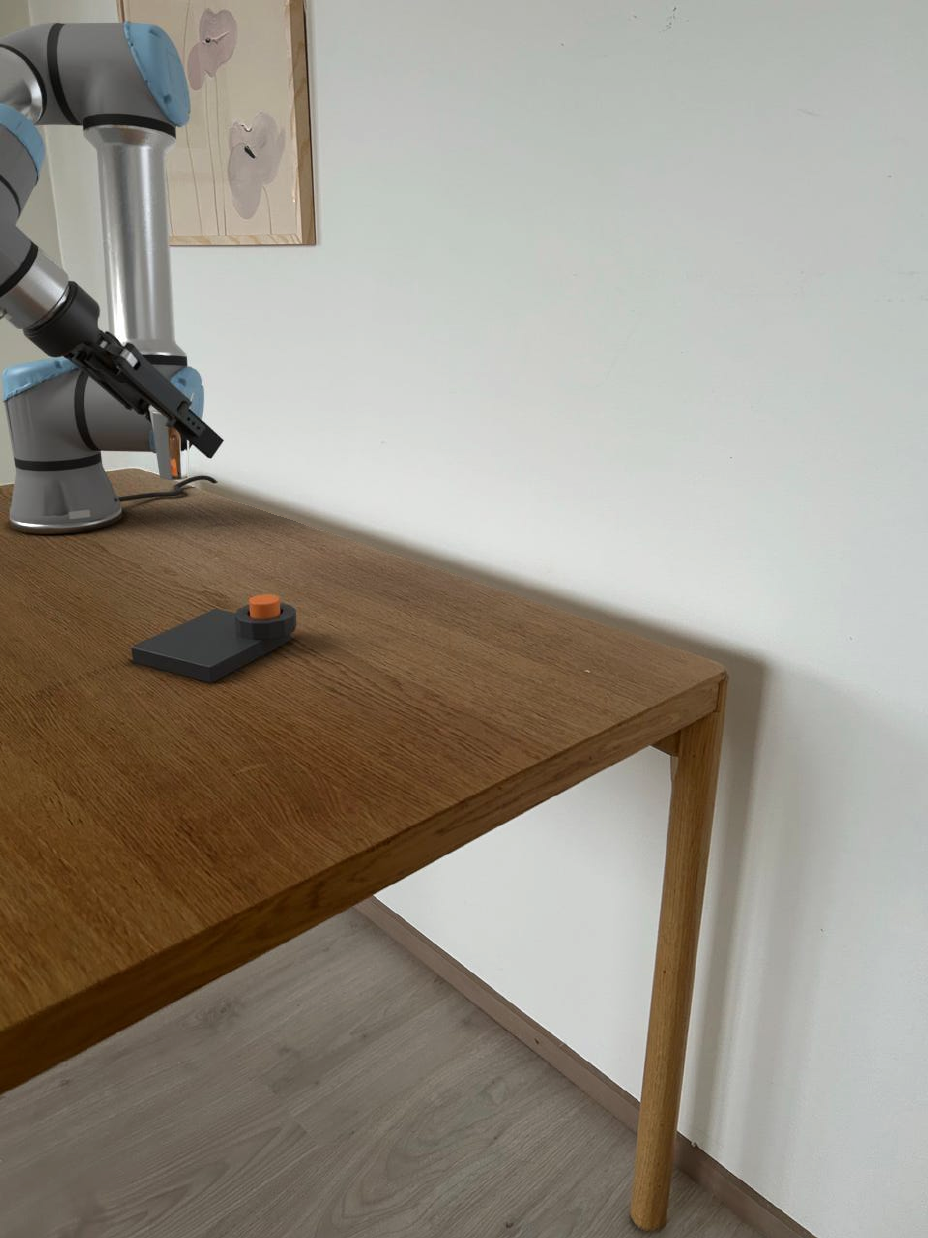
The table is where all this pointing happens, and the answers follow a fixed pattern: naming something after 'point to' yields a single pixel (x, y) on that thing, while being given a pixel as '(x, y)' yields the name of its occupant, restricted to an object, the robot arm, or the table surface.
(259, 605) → the button
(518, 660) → the table surface
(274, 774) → the table surface
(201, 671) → the scale
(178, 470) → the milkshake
